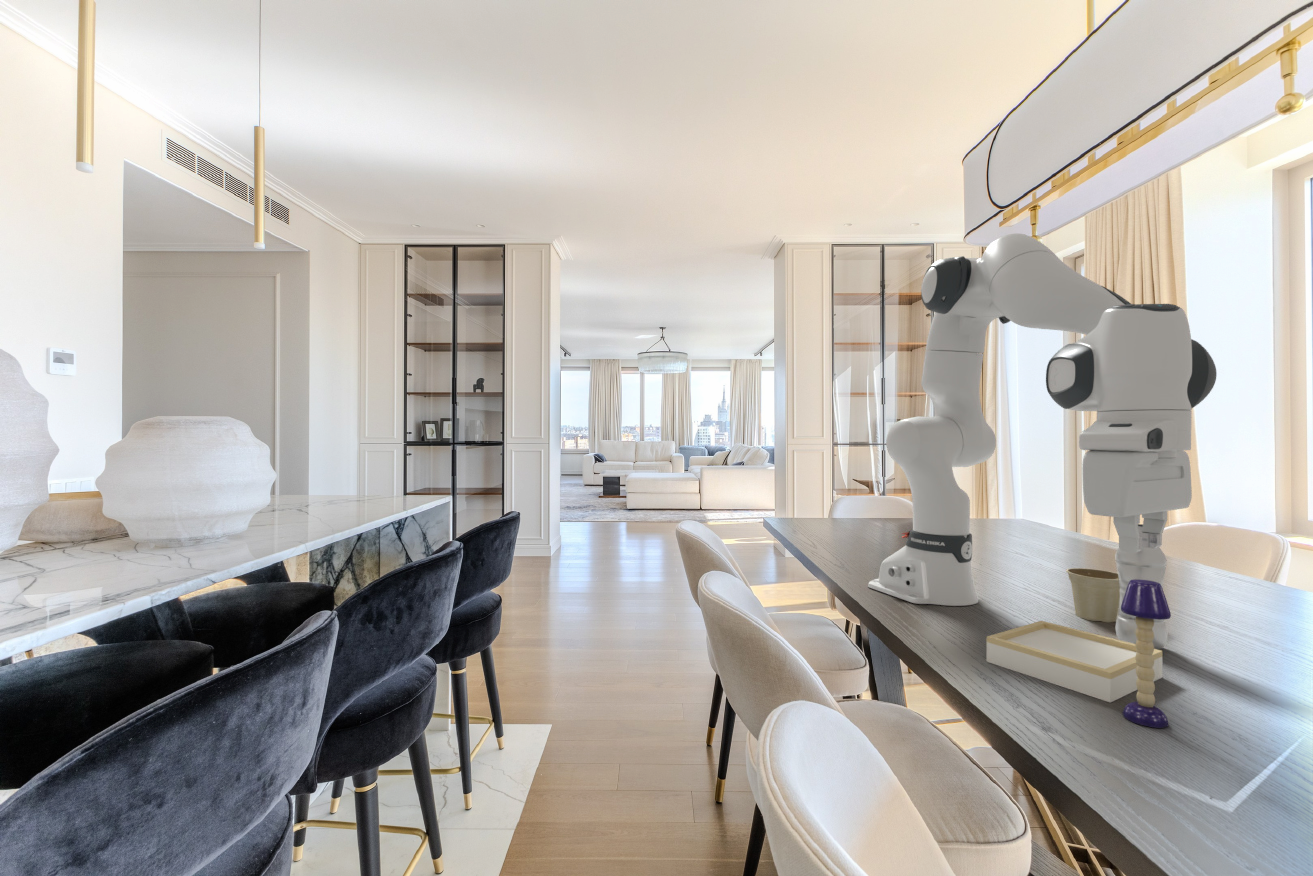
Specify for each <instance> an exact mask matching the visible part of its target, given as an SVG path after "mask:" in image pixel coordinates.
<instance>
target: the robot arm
mask: <svg viewBox="0 0 1313 876" xmlns="http://www.w3.org/2000/svg"><path fill="white" fill-rule="evenodd" d="M920 290H921V291H920V296H921V301H922V304H923V305H924V307H925V308H926V309H927V310H928V311H931V312H933V313H934V314H933V318H932V321H931V324H930V328H929V332H928V334H927V335H928V336H927V340H926V345H925V353H924V360H923V365H922V375H921V381H920V384H921V385H920V386H921V388H922V390H923V392H924V393H926V395H928V396H929V398H930V399H931V401H932V406H933V410H934V415H933V416H919V415H917V416H914V417H909V418H905V419H901V420H898V421H896V422H894V423H893V424H892V425H891V427H890V428H889V430H888V432H887V434H886V435H887V436H886V441H885V442H886V443H885V444H886V449H887V452H888V454H889V456H890V458H891V460H893V461H894V462H895V463H896V464H897V465H898V466H899V467H900V468H901V470H902V471H903V473H904V475H905V478H906V479H907V482H908V485H909V488H910V494H911V501H912V503H911V504H912V529H911V530H909V531H907V532H902V533H901V535H902V536H901V538H902V539H906V538H907V540H906V542H905V545H904V546H903V547H901V548H900V549H899V550H896V551H895V552H894V553H892V554H891V555H889V556H888V557H886V558H885V559H884V560H883V561H882V562H881V564H880V567H879V573H878V575H879V576H878V578H875V579H872V580H869V582H868V584H867V587H868V588H870V589H873V590H876V591H878V592H881V593H883V594H887V595H889V596H893V597H895V598H898V599H900V600H904V601H907V602H910V603H913V604H919V605H927V604H928V605H938V606H940V605H941V606H948V607H949V606H952V607H957V606H958V607H960V606H961V607H963V606H964V607H965V606H972V605H975V604H978V603H979V602H980V601H979V597H978V595H977V591H976V588H975V583H974V578H973V577H974V576H973V570H972V556H973V534H972V533H971V526H970V525H971V523H970V521H971V500H970V497H969V495H968V494H967V492H966V491H965V490H963V489H962V488H961V487H960V486H959V484H958V483H957V480H956V478H955V476H954V471H953V468H967V467H971V466H975V465H978V464H981V463H984V462H986V461H988V460H989V459H990V458H991V457H992V456H993V454H994V452H995V450H996V446H997V438H996V435H995V432H994V430H993V429H992V427H991V426H990V425H989V424H988V422H987V421H986V419H985V416H984V413H983V410H982V405H981V404H982V403H981V394H980V384H981V375H982V368H983V359H984V355H985V354H984V353H985V346H986V335H987V330H988V327H989V326H990V324H991V323H992V322H993V321H994V320H996V319H998V320H999V321H1000V323H1001V324H1003V325H1004V324H1007V323H1010V322H1012V323H1014V324H1016V325H1018V326H1021V327H1024V328H1030V329H1037V330H1038V329H1039V330H1040V329H1041V330H1049V331H1050V330H1052V331H1062V332H1070V333H1076V334H1082V335H1084V336H1083V337H1082V338H1080V339H1078V340H1077V341H1075V342H1073V343H1068V344H1066V345H1064V346H1062V347H1061V348H1060V349H1058V351H1057V352H1055V354H1053V356H1051V358H1050V359H1049V360H1048V363H1047V366H1046V370H1045V386H1046V390H1047V392H1048V394H1049V396H1050V397H1051V399H1052V400H1053V401H1054V402H1055V403H1056V405H1058V406H1059V407H1061V408H1062V409H1064V410H1071V411H1074V412H1075V411H1076V412H1096V420H1095V421H1093V423H1092V424H1091V425H1090V426H1088V427H1087V428H1086V429H1084V430H1082V431H1081V432H1080V433H1079V436H1078V447H1079V448H1080V450H1082V451H1086V452H1085V454H1084V455H1083V457H1082V467H1081V470H1082V492H1083V494H1082V495H1083V501H1084V503H1083V504H1084V505H1085V508H1086V510H1087V512H1088V513H1089V515H1094V516H1101V517H1110V518H1111V517H1112V518H1113V521H1112V522H1113V525H1114V528H1115V530H1116V532H1117V536H1118V548H1119V549H1120V550H1121V551H1124V552H1131V553H1135V552H1139V551H1141V550H1142V547H1146V548H1158V547H1159V548H1161V547H1162V544H1163V533H1164V530H1165V528H1166V525H1167V522H1168V512H1169V511H1175V510H1183V509H1188V508H1189V507H1190V506H1191V503H1192V498H1193V494H1192V493H1193V491H1192V490H1193V489H1192V488H1193V487H1192V472H1191V470H1192V469H1191V462H1190V457H1189V454H1188V453H1187V452H1186V451H1191V450H1192V418H1193V417H1192V410H1193V408H1195V407H1197V406H1198V405H1199V404H1200V403H1202V402H1203V401H1204V399H1206V398H1207V397H1208V395H1209V394H1210V392H1212V390H1213V389H1214V386H1215V384H1216V381H1217V375H1218V374H1217V367H1216V364H1215V361H1214V359H1213V358H1212V355H1211V354H1210V353H1209V351H1208V350H1207V349H1206V348H1205V346H1203V345H1202V344H1201V343H1200V342H1198V341H1197V340H1194V339H1192V336H1191V328H1190V324H1189V319H1188V317H1187V314H1186V312H1185V310H1184V308H1183V307H1180V306H1178V305H1176V304H1172V303H1140V304H1139V303H1138V304H1134V303H1131V302H1130V301H1129V300H1127V299H1125V298H1124V297H1123V296H1121V295H1120V294H1118V293H1116V292H1114V291H1112V290H1111V289H1109V288H1107V287H1105V286H1103V285H1100V284H1098V283H1097V282H1095V281H1093V280H1090V279H1089V278H1087V277H1085V275H1084V276H1083V275H1082V274H1080V273H1079V272H1077V271H1076V270H1075V269H1073V268H1071V267H1070V266H1068V265H1067V264H1066V263H1065V262H1063V261H1062V260H1061V259H1060V257H1058V256H1057V254H1055V252H1053V251H1052V250H1051V249H1050V248H1049V247H1047V245H1045V244H1044V243H1042V242H1041V241H1039V240H1037V239H1036V238H1034V237H1032V236H1030V235H1027V234H1023V233H1009V234H1006V235H1003V236H1000V237H999V238H997V239H995V240H994V241H992V242H991V243H990V244H989V245H988V246H987V247H986V249H985V250H984V252H983V253H982V256H981V257H965V256H964V255H963V256H956V257H955V256H954V257H948V258H943V259H939V260H936V261H935V262H933V263H932V264H931V265H930V266H929V267H928V268H927V270H926V271H925V274H924V276H923V279H922V282H921V289H920ZM1141 518H1142V519H1143V521H1142V524H1143V527H1142V532H1139V530H1138V524H1141Z"/></svg>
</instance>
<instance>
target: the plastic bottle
mask: <svg viewBox="0 0 1313 876" xmlns="http://www.w3.org/2000/svg"><path fill="white" fill-rule="evenodd" d="M1142 527H1143V523H1142V524H1141V523H1139V524H1138V530H1139V532H1142ZM1114 558H1115V559H1114V560H1115V565H1116V571H1117V572H1116V573H1118V577H1119V587H1120V600H1119V608H1118V614H1117V619H1116V621H1115V627H1114V629H1115V634H1116V638H1117V639H1118V640H1121V641H1125V642H1129V643H1133V644H1136V641H1137V637H1136V634H1135V631H1136V628H1137V625H1136V622H1135V619H1136V616H1132V615H1128V614H1126V613H1123V612H1122V611H1121V605H1122V602H1123V599H1124V596H1125V592H1126V590H1127V586H1128V584H1129V582H1130V580H1134V579H1139V580H1149V581H1154V582H1158V583H1160V585H1161V586H1162V589H1163V590H1164V579H1165V574H1166V569H1167V563H1168V562H1167V561H1168V560H1167V558H1166V555H1165V553H1164V551H1163V550H1162V549H1161V547H1158V548H1146V547H1142V550H1141V551H1139V552H1135V553H1131V552H1124V551H1121V550H1120V549H1119V547H1118V548H1117V549H1116V552H1115V555H1114ZM1152 630H1153V632H1154V639H1153V641H1152V643H1153V645H1154V649H1157V650H1162V649H1163V648H1165V646H1167V644H1168V642H1167V641H1168V638H1169V634H1168V628H1167V625H1166V622H1165V619H1164V620H1158V619H1154V626H1153V628H1152Z"/></svg>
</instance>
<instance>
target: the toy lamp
mask: <svg viewBox="0 0 1313 876" xmlns="http://www.w3.org/2000/svg"><path fill="white" fill-rule="evenodd" d="M1121 611H1122V612H1123V613H1126V614H1128V615H1132V616H1136V619H1135V622H1136V625H1137V628H1136V631H1135V634H1136V637H1137V641H1136V644H1135V646H1136V650H1137V653H1136V657H1135V659H1136V663H1137V664H1138V665H1137V667H1136V675H1137V677H1138V678H1137V681H1136V686H1137V689H1138V690H1137V692H1136V696H1135V697H1136V701H1133V702H1129V703H1127V704H1126V705H1125V707H1124V708H1123V710H1122V711H1123V712H1122V716H1123V717H1124V718H1125V719H1126V720H1128V721H1130V722H1132V723H1134V724H1137V725H1141V726H1144V727H1150V728H1157V729H1158V728H1159V729H1162V728H1167V727H1168V726H1169V721H1168V717H1167V716H1166V714H1165V712H1163V710H1162V709H1160V708H1159V707H1157V706H1155V705H1156V704H1155V703H1156V698H1155V697H1156V696H1155V695H1154V692H1155V691H1156V689H1155V688H1156V685H1155V681H1154V682H1153V679H1154V677H1155V673H1154V669H1153V668H1152V667H1153V665H1154V658H1153V655H1152V654H1153V652H1154V645H1153V643H1152V641H1153V639H1154V632H1153V630H1152V628H1153V626H1154V619H1158V620H1164V621H1165V620H1169V619H1171V618H1172V615H1171V609H1170V607H1169V604H1168V600H1167V598H1166V595H1165V593H1164V588H1163V589H1162V586H1161V585H1160V583H1158V582H1154V581H1149V580H1139V579H1134V580H1130V582H1129V584H1128V586H1127V590H1126V592H1125V596H1124V599H1123V602H1122V605H1121Z"/></svg>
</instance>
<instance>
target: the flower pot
mask: <svg viewBox="0 0 1313 876" xmlns="http://www.w3.org/2000/svg"><path fill="white" fill-rule="evenodd" d="M1066 573H1067V574H1068V580H1069V581H1070V584H1071V590H1072V597H1073V604H1074V612H1075V615H1076V616H1077V617H1079V618H1081V619H1084V620H1088V621H1093V622H1103V623H1113V622H1116V619H1117V616H1118V615H1119V614H1118V611H1119V600H1120V587H1119V577H1118V572H1114V571H1110V570H1103V569H1095V568H1089V567H1088V568H1087V567H1085V568H1084V567H1082V568H1081V567H1073V568H1067V569H1066Z"/></svg>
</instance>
